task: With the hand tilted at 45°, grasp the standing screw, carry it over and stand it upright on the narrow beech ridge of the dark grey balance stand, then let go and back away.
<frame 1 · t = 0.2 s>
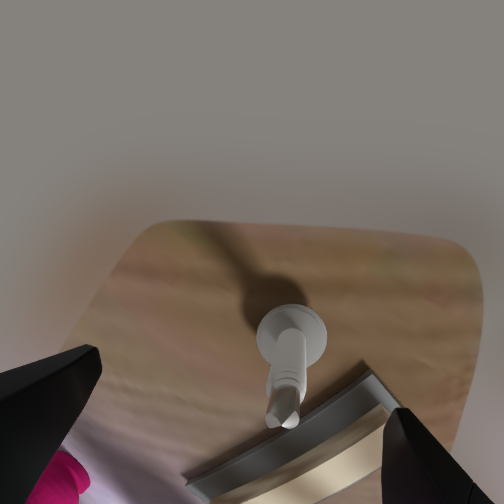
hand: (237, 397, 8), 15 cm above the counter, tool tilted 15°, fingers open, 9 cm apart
balance stand: (300, 467, 24), on the counter
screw: (292, 329, 24), on the counter
pepper mill: (71, 468, 29), on the counter
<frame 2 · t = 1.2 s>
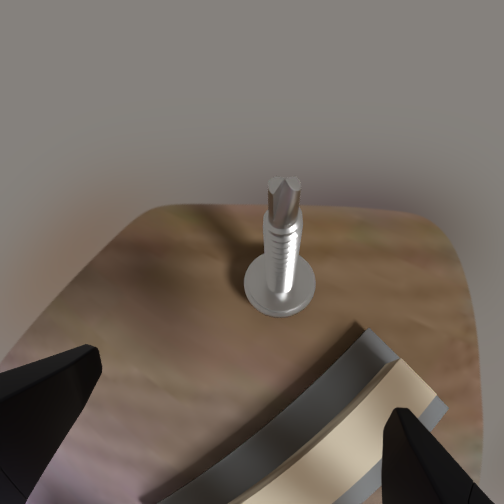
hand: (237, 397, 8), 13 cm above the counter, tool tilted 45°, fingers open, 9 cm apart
balance stand: (300, 476, 18), on the counter
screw: (279, 293, 24), on the counter
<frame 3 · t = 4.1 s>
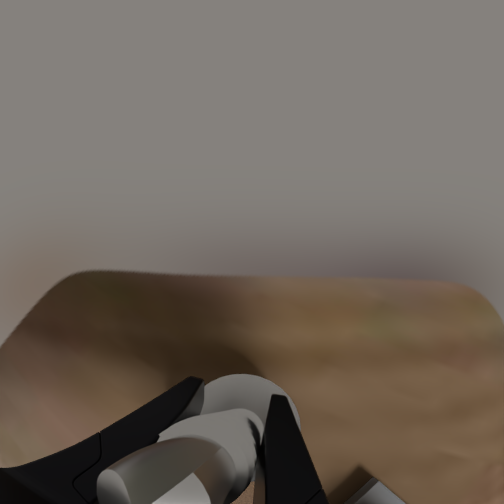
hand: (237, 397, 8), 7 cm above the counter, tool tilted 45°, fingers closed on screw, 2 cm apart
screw: (245, 425, 14), on the counter, touching gripper
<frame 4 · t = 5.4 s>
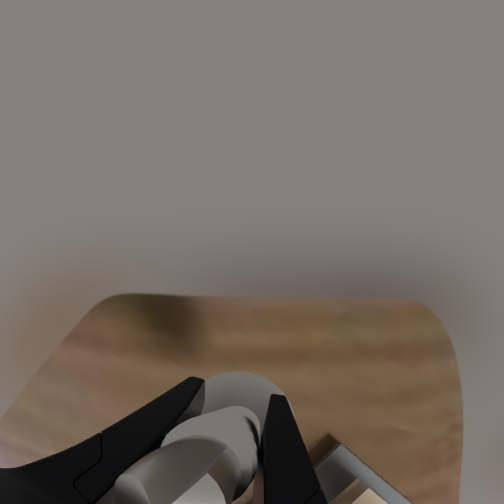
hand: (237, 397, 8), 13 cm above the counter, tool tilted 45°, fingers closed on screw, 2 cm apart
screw: (240, 421, 14), point 6 cm above the counter, touching gripper
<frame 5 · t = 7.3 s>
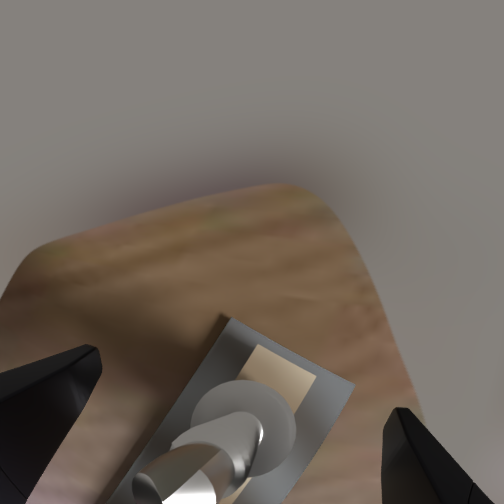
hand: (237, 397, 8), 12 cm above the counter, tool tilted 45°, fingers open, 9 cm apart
balance stand: (206, 484, 16), on the counter
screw: (246, 425, 15), point 4 cm above the counter, touching balance stand
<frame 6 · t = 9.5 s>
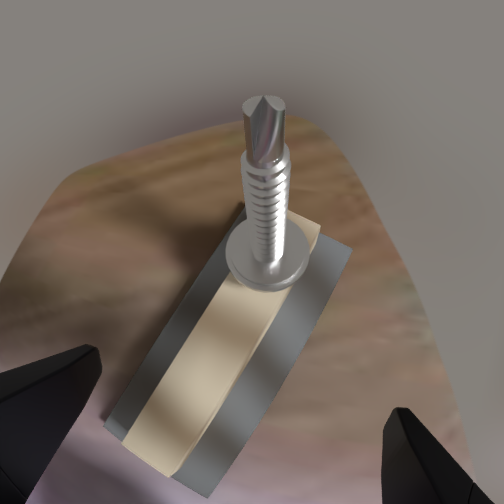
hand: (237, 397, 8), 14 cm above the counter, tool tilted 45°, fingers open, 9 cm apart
balance stand: (230, 345, 22), on the counter
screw: (267, 265, 21), point 4 cm above the counter, touching balance stand
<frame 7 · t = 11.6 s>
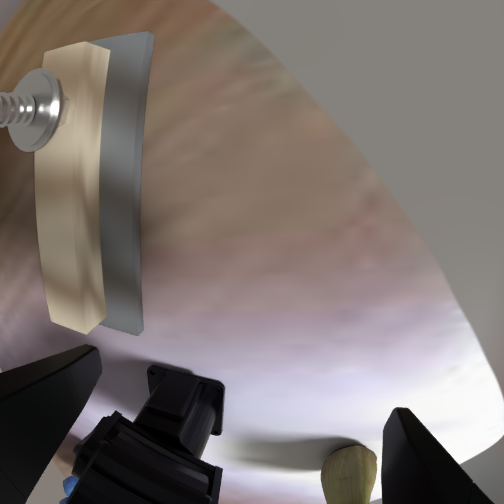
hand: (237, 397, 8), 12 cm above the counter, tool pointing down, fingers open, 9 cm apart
balance stand: (88, 186, 21), on the counter
fennel bulb: (347, 453, 24), on the counter
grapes: (111, 467, 34), on the counter
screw: (57, 110, 15), point 4 cm above the counter, touching balance stand
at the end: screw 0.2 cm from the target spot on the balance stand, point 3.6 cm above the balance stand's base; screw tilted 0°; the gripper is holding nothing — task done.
